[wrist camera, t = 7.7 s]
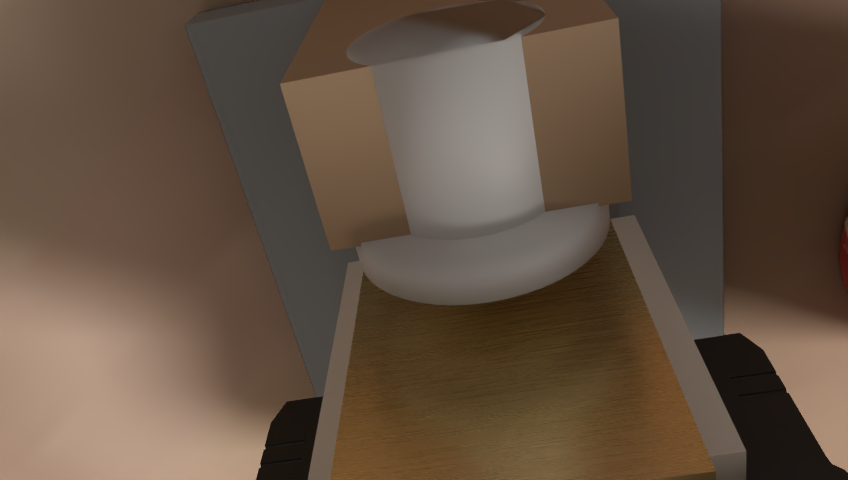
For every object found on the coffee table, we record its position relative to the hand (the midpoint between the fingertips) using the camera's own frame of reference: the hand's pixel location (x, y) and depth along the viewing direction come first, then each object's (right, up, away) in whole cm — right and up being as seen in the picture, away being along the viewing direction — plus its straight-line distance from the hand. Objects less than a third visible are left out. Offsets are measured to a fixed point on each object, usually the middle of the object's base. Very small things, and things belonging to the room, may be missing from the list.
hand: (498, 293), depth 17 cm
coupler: (0, 0, 0) cm, 0 cm away
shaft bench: (0, +1, +2) cm, 2 cm away
